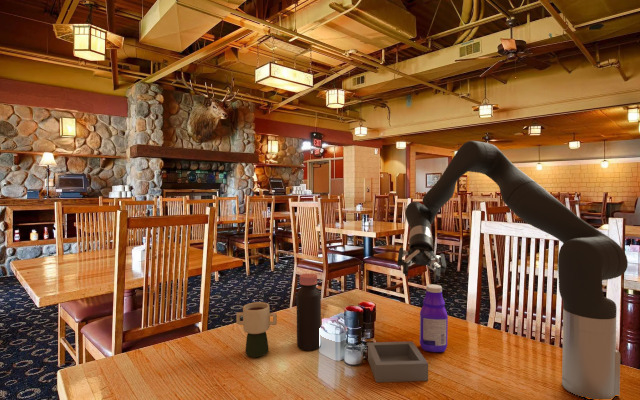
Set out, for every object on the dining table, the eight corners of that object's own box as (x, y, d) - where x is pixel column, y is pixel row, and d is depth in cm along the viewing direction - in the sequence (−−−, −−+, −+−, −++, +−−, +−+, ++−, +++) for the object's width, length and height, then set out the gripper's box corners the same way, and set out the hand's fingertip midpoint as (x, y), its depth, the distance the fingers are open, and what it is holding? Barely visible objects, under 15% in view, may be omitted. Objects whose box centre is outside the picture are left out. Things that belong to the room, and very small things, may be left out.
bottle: (444, 344, 102) (444, 283, 102) (449, 354, 97) (449, 289, 96) (418, 344, 103) (418, 283, 102) (421, 353, 97) (421, 288, 97)
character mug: (279, 348, 101) (278, 302, 101) (274, 360, 94) (274, 310, 93) (240, 347, 102) (240, 301, 101) (233, 359, 95) (232, 310, 94)
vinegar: (321, 351, 99) (320, 278, 98) (296, 351, 99) (295, 278, 98) (321, 340, 106) (320, 272, 105) (297, 341, 106) (296, 272, 105)
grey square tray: (412, 356, 96) (412, 341, 95) (428, 380, 84) (428, 363, 83) (367, 357, 95) (367, 342, 95) (376, 382, 83) (376, 365, 83)
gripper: (400, 229, 119) (398, 263, 106) (445, 236, 116) (449, 271, 103) (397, 247, 123) (395, 281, 110) (440, 254, 121) (444, 289, 107)
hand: (421, 276), depth 106 cm, fingers open, 8 cm apart
